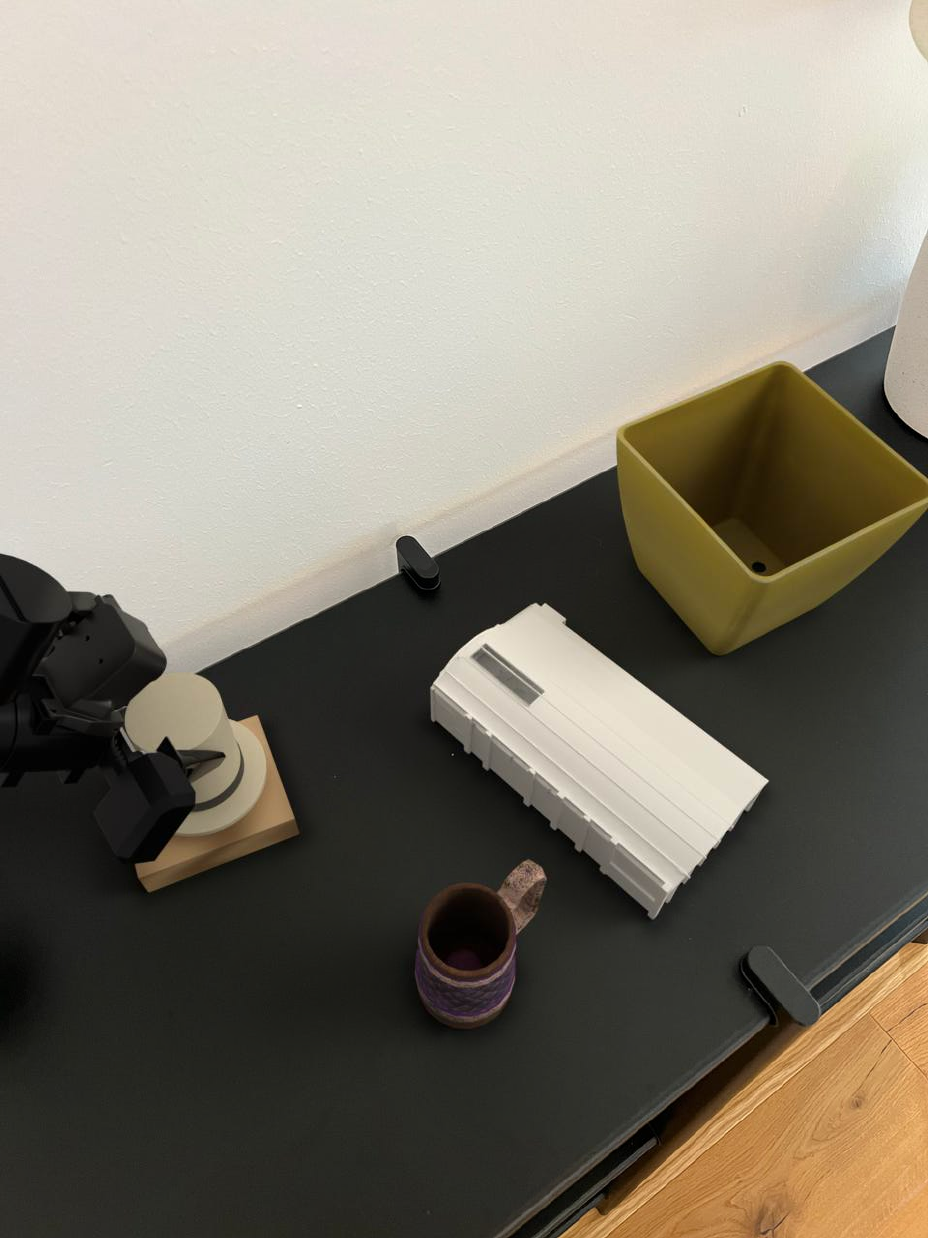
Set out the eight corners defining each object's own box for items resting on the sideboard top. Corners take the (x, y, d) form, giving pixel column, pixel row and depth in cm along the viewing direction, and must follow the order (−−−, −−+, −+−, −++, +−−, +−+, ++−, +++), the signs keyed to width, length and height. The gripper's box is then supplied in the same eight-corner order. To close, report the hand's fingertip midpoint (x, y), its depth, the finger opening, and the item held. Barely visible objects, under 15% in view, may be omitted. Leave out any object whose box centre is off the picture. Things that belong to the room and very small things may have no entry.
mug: (457, 1054, 66) (460, 1009, 56) (395, 972, 69) (388, 917, 59) (565, 959, 70) (584, 902, 60) (501, 886, 73) (511, 821, 63)
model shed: (767, 798, 78) (792, 758, 72) (657, 924, 71) (676, 892, 66) (540, 622, 88) (546, 575, 82) (426, 720, 82) (425, 676, 76)
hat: (209, 861, 69) (180, 804, 61) (107, 795, 72) (67, 732, 64) (293, 757, 74) (276, 692, 67) (194, 699, 77) (167, 631, 70)
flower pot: (709, 703, 83) (761, 584, 69) (586, 556, 93) (611, 427, 79) (868, 617, 89) (945, 492, 75) (737, 487, 98) (784, 356, 85)
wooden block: (148, 893, 72) (138, 878, 70) (120, 783, 78) (110, 766, 75) (299, 834, 75) (294, 818, 73) (263, 732, 81) (257, 714, 78)
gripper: (121, 743, 49) (328, 739, 61) (-7, 519, 57) (197, 557, 70) (25, 886, 52) (239, 853, 65) (-82, 654, 61) (125, 666, 74)
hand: (200, 724), depth 68 cm, fingers closed on hat, 6 cm apart
